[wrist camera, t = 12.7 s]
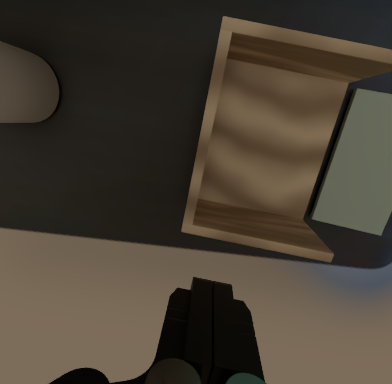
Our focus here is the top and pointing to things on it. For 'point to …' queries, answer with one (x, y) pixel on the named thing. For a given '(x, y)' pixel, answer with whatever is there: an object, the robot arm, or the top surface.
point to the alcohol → (25, 86)
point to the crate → (270, 133)
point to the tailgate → (360, 167)
